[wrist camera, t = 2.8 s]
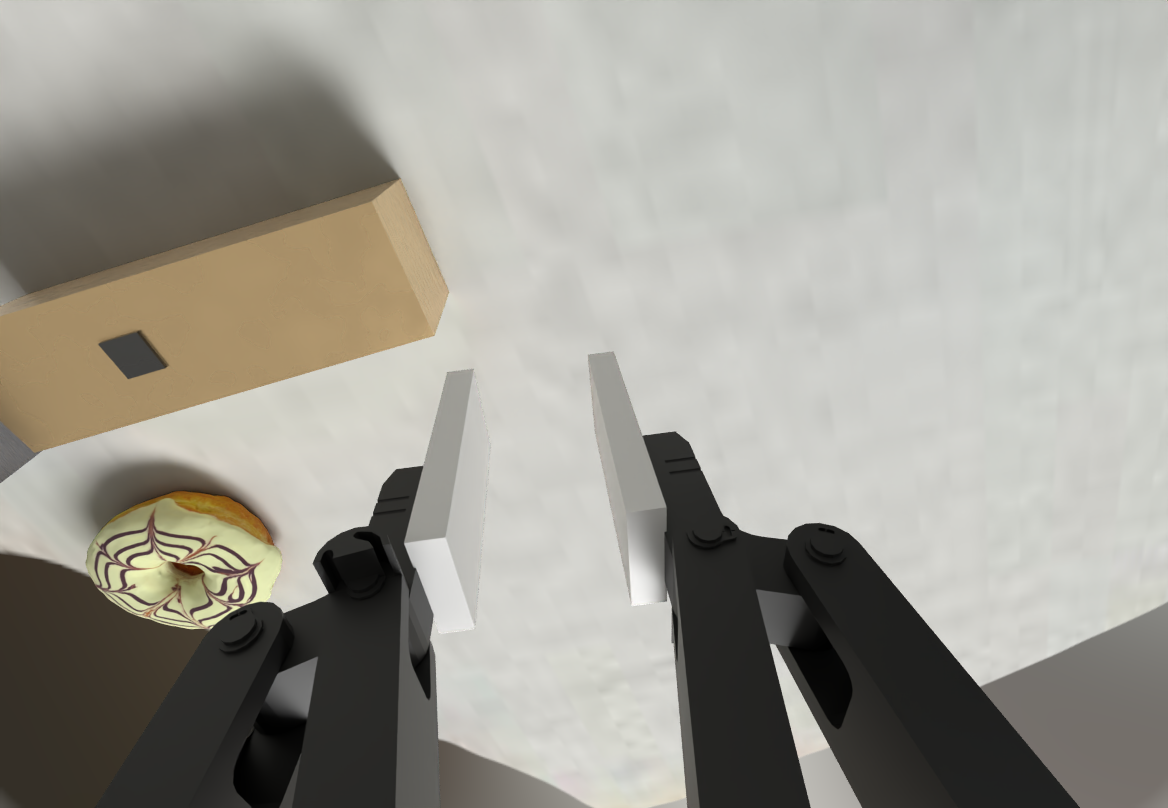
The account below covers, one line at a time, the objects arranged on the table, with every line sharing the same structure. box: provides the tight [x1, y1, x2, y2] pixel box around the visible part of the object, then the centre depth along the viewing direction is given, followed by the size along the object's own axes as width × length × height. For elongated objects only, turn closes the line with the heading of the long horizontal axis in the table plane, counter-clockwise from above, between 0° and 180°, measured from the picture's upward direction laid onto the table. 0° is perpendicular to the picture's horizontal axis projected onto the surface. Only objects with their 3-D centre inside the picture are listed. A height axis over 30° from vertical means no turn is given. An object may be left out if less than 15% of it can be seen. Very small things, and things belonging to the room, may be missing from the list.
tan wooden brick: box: [0, 178, 449, 453], centre depth 25 cm, size 20×6×6 cm, turn 105°
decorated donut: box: [86, 491, 282, 629], centre depth 35 cm, size 10×11×4 cm
